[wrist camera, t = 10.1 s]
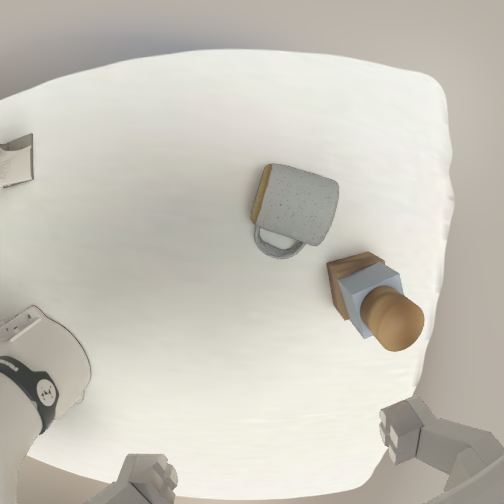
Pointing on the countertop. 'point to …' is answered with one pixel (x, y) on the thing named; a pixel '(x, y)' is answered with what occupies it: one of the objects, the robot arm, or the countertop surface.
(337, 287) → the walnut base block
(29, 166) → the skyscraper
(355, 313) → the slate upper block
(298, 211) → the ceramic mug
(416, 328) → the oak cylinder
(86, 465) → the countertop surface
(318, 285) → the countertop surface
